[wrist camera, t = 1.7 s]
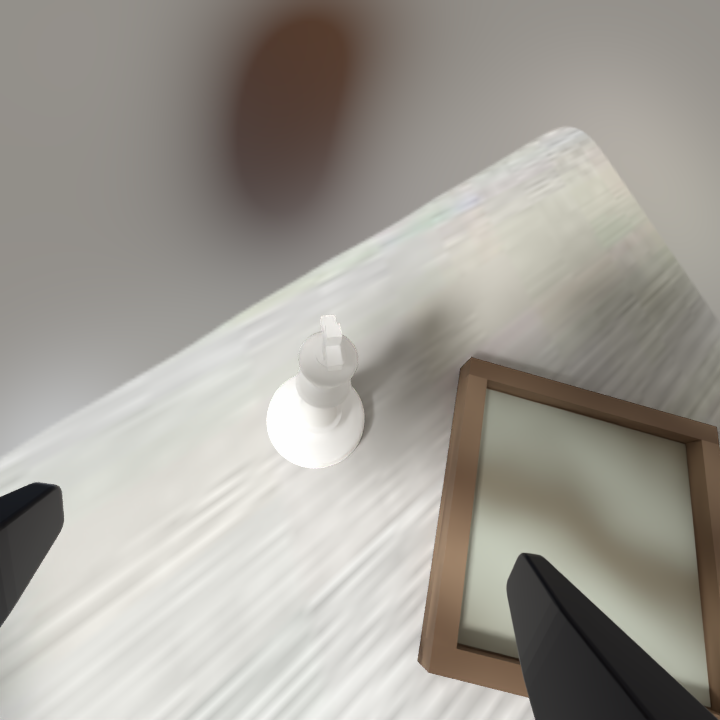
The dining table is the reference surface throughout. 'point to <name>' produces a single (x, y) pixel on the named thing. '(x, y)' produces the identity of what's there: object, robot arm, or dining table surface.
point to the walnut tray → (574, 525)
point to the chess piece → (319, 402)
